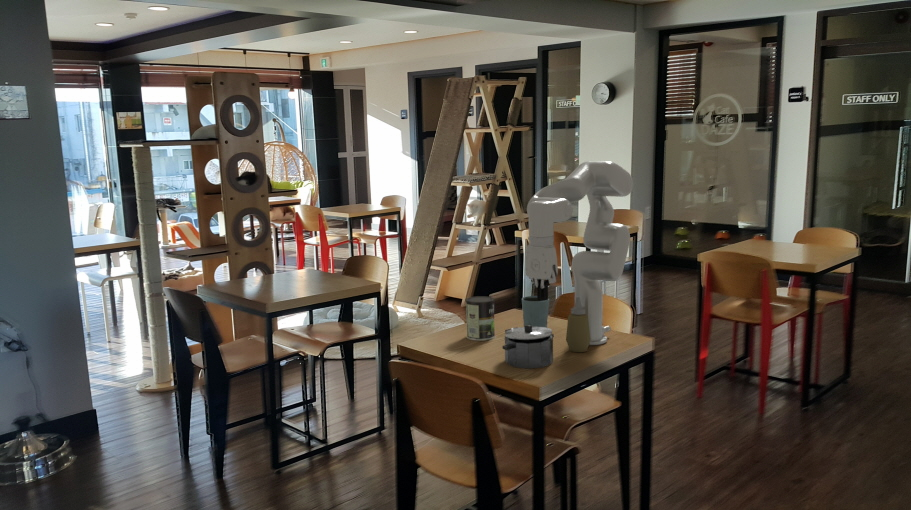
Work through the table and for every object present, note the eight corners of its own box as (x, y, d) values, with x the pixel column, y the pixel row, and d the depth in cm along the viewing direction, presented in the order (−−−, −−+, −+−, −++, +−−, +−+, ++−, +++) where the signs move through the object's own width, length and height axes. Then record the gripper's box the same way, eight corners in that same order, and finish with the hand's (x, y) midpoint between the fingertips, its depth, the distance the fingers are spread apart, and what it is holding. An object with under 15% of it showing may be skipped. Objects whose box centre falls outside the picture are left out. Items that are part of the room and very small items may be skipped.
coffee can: (496, 333, 260) (496, 296, 258) (492, 341, 250) (491, 302, 248) (469, 332, 262) (468, 295, 260) (464, 340, 252) (463, 302, 250)
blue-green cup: (517, 331, 262) (516, 299, 260) (529, 325, 270) (529, 294, 268) (542, 334, 256) (542, 302, 254) (553, 328, 265) (553, 296, 263)
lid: (527, 327, 237) (526, 318, 236) (562, 333, 224) (561, 324, 224) (493, 335, 227) (493, 326, 227) (528, 342, 215) (527, 333, 215)
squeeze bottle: (585, 355, 231) (585, 301, 228) (562, 351, 235) (561, 299, 233) (594, 348, 238) (594, 296, 235) (571, 345, 242) (571, 294, 239)
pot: (534, 349, 239) (534, 326, 238) (568, 359, 227) (568, 335, 226) (488, 362, 227) (487, 338, 225) (521, 373, 215) (521, 348, 213)
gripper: (515, 240, 219) (517, 298, 223) (550, 245, 208) (551, 306, 211) (532, 237, 224) (534, 293, 227) (568, 242, 212) (568, 301, 216)
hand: (542, 299), depth 219 cm, fingers closed
